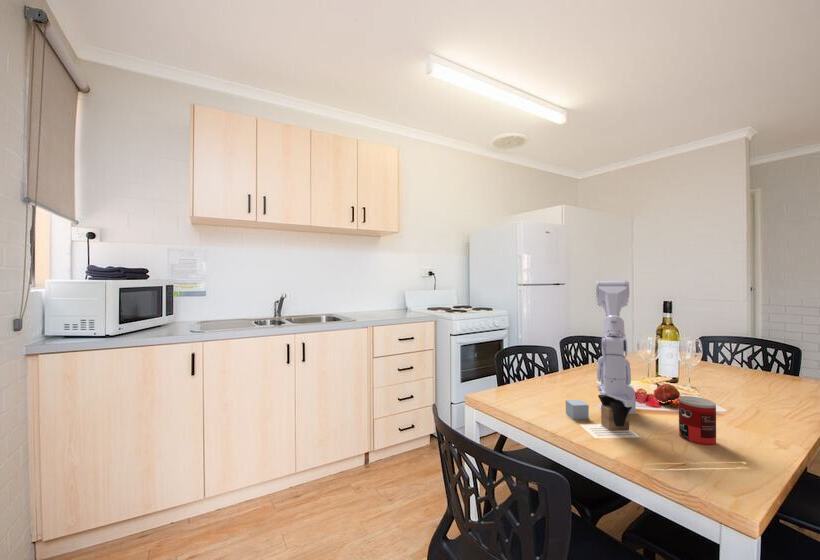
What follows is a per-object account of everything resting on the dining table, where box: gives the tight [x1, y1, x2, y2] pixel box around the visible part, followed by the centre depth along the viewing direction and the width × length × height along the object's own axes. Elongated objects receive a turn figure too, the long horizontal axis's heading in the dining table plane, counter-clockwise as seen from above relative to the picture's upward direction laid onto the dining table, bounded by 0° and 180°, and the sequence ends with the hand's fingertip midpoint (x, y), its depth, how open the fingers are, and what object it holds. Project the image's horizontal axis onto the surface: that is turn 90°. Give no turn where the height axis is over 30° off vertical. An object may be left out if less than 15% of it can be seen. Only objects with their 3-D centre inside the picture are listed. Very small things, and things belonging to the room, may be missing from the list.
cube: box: [565, 399, 590, 420], centre depth 113 cm, size 5×5×5 cm
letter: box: [579, 423, 641, 439], centre depth 103 cm, size 13×9×1 cm
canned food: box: [678, 395, 717, 446], centre depth 97 cm, size 8×8×11 cm
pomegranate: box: [653, 382, 681, 403], centre depth 124 cm, size 7×7×10 cm
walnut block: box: [600, 404, 630, 430], centre depth 105 cm, size 6×4×6 cm, turn 91°
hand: (615, 422), depth 105 cm, fingers closed on walnut block, 4 cm apart
